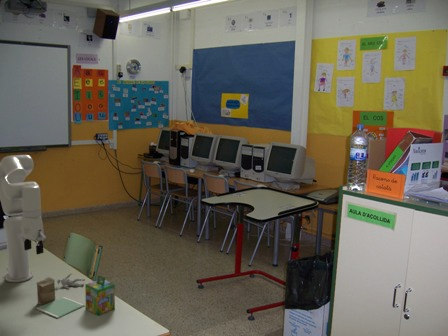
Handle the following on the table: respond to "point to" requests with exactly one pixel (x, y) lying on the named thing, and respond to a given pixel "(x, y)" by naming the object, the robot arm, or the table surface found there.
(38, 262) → the table surface
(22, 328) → the table surface
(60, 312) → the mat
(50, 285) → the walnut block
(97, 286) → the chalk box
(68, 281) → the soldier figure
